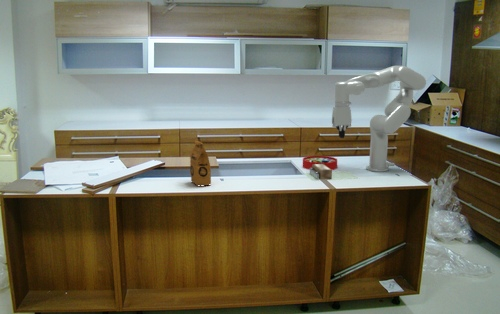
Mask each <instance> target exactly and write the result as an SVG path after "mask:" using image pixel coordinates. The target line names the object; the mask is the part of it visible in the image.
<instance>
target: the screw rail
mask: <svg viewBox="0 0 500 314" xmlns="http://www.w3.org/2000/svg"><path fill="white" fill-rule="evenodd" d="M309 169H310V170H309ZM309 169H308V170H309V173H310V174H311V175H312V176H313V177H314V178H316V179H317V181H320V180H319V172H318V171H314V170H313V169H314V168H309Z"/></svg>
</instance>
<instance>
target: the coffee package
mask: <svg viewBox="0 0 500 314" xmlns="http://www.w3.org/2000/svg"><path fill="white" fill-rule="evenodd" d="M194 145H195V146H194V147H193V148H192V151H191V153H190V156H189V157H190V158H189V159H190V162H189V163H190V164H189V166H190V167H189V168H190V170H189V174H190V181H191V182H192V183H193V184H194V183H195V184H196V185H195V184H194V185H195V186H197V185H209V184H211V185H212V175H211V174H212V171H211V168H212V167H211V163H210V158H209V156H208V155H209V154H208V153H207V151H206V148H205V146H204V143H203V142H201V141H200V140H199V141H198V140H195V141H194Z"/></svg>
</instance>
